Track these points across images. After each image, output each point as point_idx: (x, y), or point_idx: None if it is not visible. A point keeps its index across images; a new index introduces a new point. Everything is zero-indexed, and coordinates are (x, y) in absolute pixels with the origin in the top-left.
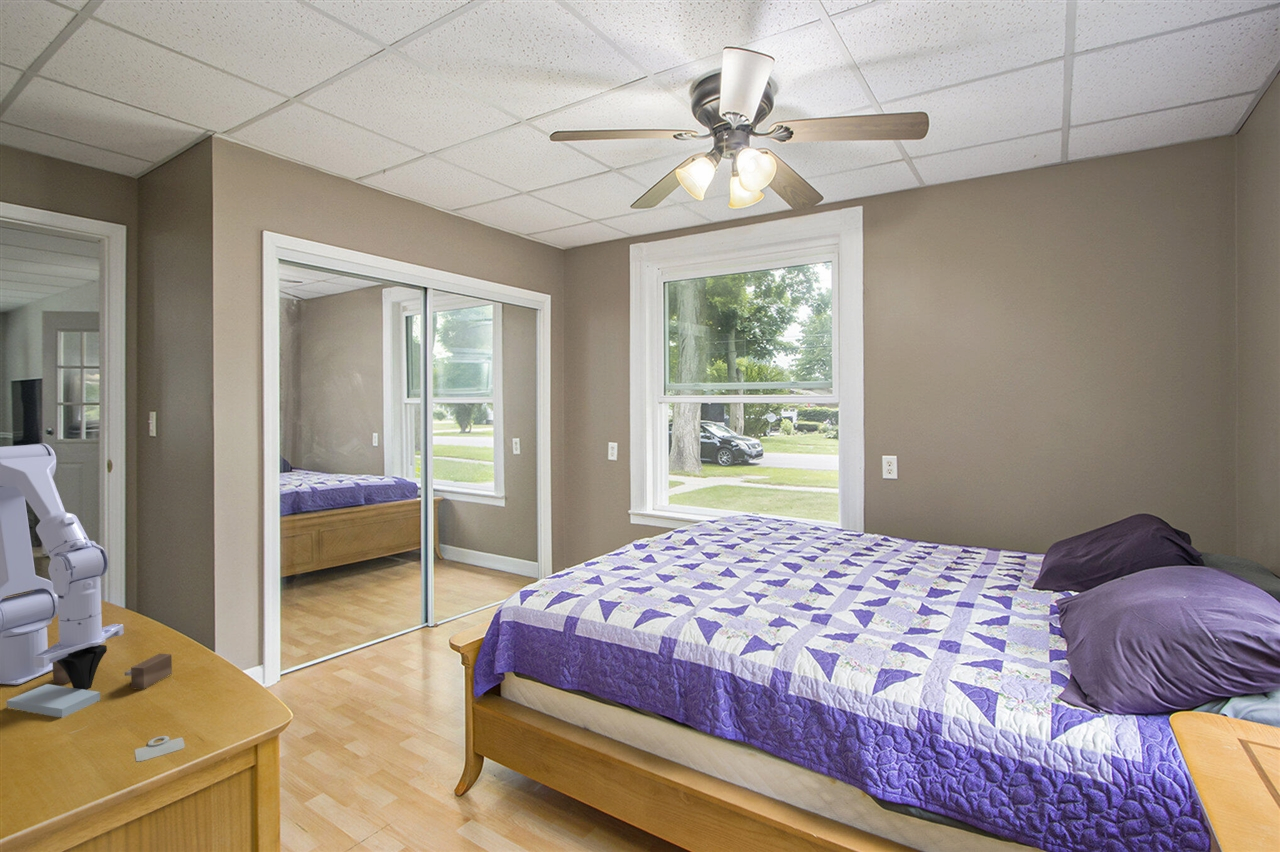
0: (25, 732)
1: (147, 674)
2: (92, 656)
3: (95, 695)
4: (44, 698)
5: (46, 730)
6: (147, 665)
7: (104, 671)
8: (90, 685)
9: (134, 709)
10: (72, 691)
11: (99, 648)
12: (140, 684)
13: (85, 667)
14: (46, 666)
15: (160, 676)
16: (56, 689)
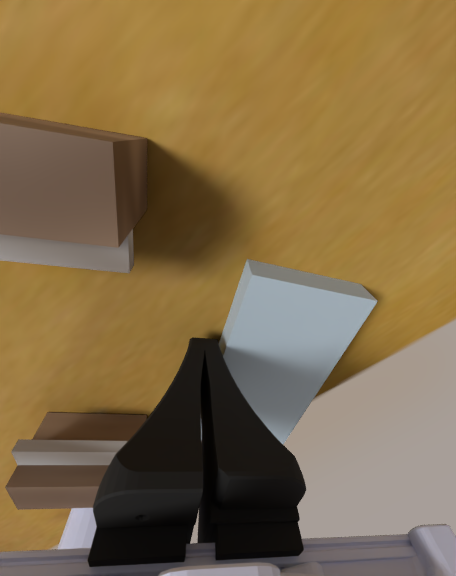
0: (427, 312)
1: (98, 135)
2: (226, 460)
3: (269, 274)
4: (284, 391)
5: (439, 268)
6: (58, 150)
7: (51, 388)
8: (196, 342)
9: (365, 9)
10: (242, 360)
11: (156, 502)
12: (141, 163)
13: (240, 414)
14: (440, 527)
15: (24, 118)
16: None
